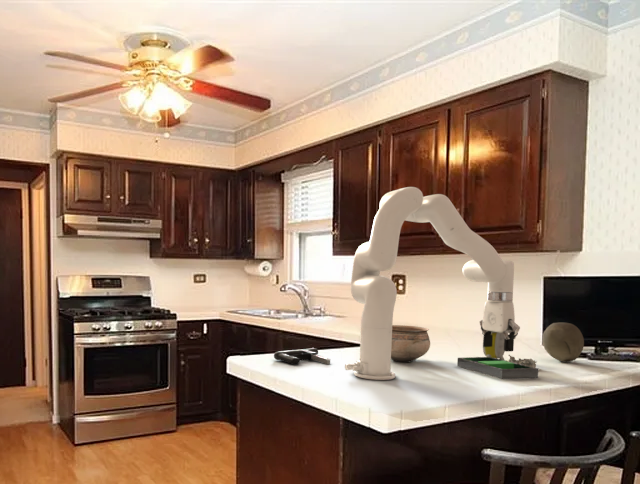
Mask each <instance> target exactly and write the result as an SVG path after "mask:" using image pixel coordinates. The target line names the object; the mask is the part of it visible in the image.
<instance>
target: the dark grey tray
mask: <svg viewBox="0 0 640 484" xmlns="http://www.w3.org/2000/svg"><path fill="white" fill-rule="evenodd" d="M478 361H507V362H509V360H505V359H504V360H501V359H499V358H493V357H486V356H482V357H481V356H473V357H471V356H470V357H457V362H456V364H457V365H456V367H458V368H461V369H466V370H469V371H472V372H475V373H479V374H481V375H486V376H488V377H492V378H495V379H496V378H497V379H499V380H520V379H521V380H523V379H538V378H539V368H537V367H536V368H534V367H530V366H526V365H522V364H518V363H514V362H511V363H514V369H500V368H497V367H493V366H489V365H485V364H482V363H478Z"/></svg>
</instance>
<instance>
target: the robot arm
mask: <svg viewBox="0 0 640 484" xmlns="http://www.w3.org/2000/svg"><path fill="white" fill-rule="evenodd" d="M405 221H406V222H411V223H412V222H413V223H420V224H421V223H423V224H424V223H430V224H431V226H432V227H433V228H434V229H435V231H436V232H437V234H438V235H439V237H440V238H441V240H442V241H443V243H444V244H445V245H446V246H448V247H450V248H451V249H454V250H455V251H457V252H461V253H463V254H464V255H467V256H468V257H469V258H470V259H471V260H469V261H467V262H466V263H465V264H464V265H463V267H462V275H463V276H464V278H465V279H466V280H467V281H469V282H474V283H487V300H485V303H484V308H483V313H482V319H481V320H479V326H480V330H481V332H482V333H481V334H482V335H483V336H482V337H483V338H482V347H483V346H484V347H492V340H493V335H491V334H492V332H499V333H502V332H503V334H504V335H505V337H506V339H504V351H505V352H506V353H507V352H513V351H514V345H515V340H516V338H517V336H518V335H519V332H520V329H521V326H519V325H518V324H517V323H516V321H515V318H516V317H515V316H516V315H515V305H514V302H513V299H514V280H515V279H514V277H515V263H514V262H513V260H511V259H503V258H502V257H501V256H500V254H499V253H498V251H497V250H496V249H495V248H494V247H493V245H491V243H489V242H488V241H487V240H486V239H485V238H483V237H482V236H480V235H479V234H478V233H476V232H475V231H473V230H472V229H471V228H470V227H469V226H468V224H467V223H466V222H465V220H464V219H463V217H462V216H461V214H460V213H459V211H458V210H457V208H456V207H455V205H454V204H453V203H452V201H451V200H450V198H449V197H448V196H447V195H445V194H442V193H436V194H430V195H425V196H424V194H423V191H421V189H420V188H419V187H415V186H407V187H402V188H398V189H395V190H392V191H391V190H390V191H388V192H386V193H385V194H384V195H383V196H382V197H381V199H380V201H379V209H378V211H377V212H376V214H375V216H374V219H373V223H372V228H371V233H370V238H369V241H366V242H364V243H361V245H359V246H358V248H357V249H356V251H355V254H354V257H353V263H352V271H351V280H350V293H351V296H352V298H353V299H354V300H355V301H356V302H357V303H359V304H363V308H362V312H361V318H360V337H359V338H360V339H359V360H355V361H356V362H354V363H345V364H344V370H345V371H352V372H353V375H354V376H355V377H357V378H361V379H364V380H365V379H366V380H373V381H374V380H375V381H388V380H389V381H390V380H393V379H395V378H396V373H395V372H393V371H391V369H392V368H391V365H392V359H391V345H392V325H393V321H394V319H393V318H394V311H395V310H394V309H395V305H396V301H397V295H398V293H397V292H398V291H397V286H396V284H395V282H394V281H393V280H392V279H391V278H389V277H387V276H385V275H381V274H380V273H381V272H387V271H389V270H392V269H393V268H394V267H395V265H396V263H397V258H398V250H399V243H400V242H399V241H400V234H401V230H402V226H403V224H404V222H405Z"/></svg>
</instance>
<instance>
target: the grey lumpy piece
mask: <svg viewBox="0 0 640 484" xmlns="http://www.w3.org/2000/svg"><path fill="white" fill-rule="evenodd" d="M508 357H509V359H508V361H509V362H514V363H518V364H522V365H526V366H530V367H534V368H537V364H536V363H537V361H536V360H533V359H532V358H523V359H521V357H519V358H518V359H516V358H515V356H513V355H511V354H508Z"/></svg>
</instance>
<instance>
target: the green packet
mask: <svg viewBox="0 0 640 484" xmlns="http://www.w3.org/2000/svg"><path fill="white" fill-rule="evenodd" d="M507 361H508V360H505V361H478V363H482V364H485V365H489V366H493V367H497V368H500V369H514V363H511V362H507Z"/></svg>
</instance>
